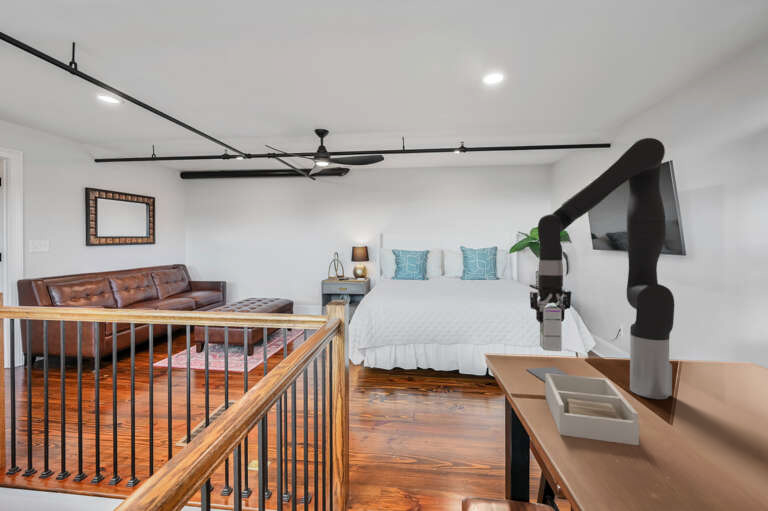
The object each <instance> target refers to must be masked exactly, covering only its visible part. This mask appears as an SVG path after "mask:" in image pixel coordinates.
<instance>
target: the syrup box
mask: <svg viewBox="0 0 768 511" xmlns="http://www.w3.org/2000/svg"><path fill="white" fill-rule="evenodd" d="M542 312H543V322H542V323H540V322H539V346H540V347H541V349H543V351H548V352H562V349H563V347H562V346H563V344H562V343H563V341H562V338H563V337H562V336H563V335H562V331H563V330H562V328H563V326H562V321H561V309H560V308H559V307H557V306H556V305H553V304H552V305H550V304H547V305H546V306H545V307H544V309H543V311H542Z"/></svg>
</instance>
